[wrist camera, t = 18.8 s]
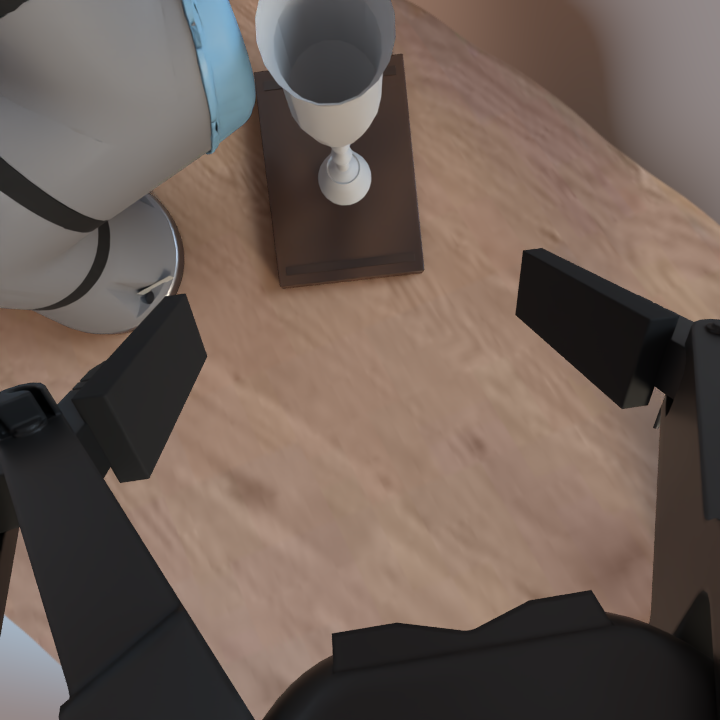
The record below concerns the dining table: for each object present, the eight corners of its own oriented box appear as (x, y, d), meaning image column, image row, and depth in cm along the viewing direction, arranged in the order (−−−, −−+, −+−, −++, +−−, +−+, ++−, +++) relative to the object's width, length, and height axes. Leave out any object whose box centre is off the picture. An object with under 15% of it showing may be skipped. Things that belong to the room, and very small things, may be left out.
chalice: (301, 145, 37) (241, -37, 19) (372, 131, 36) (380, -68, 18) (317, 223, 37) (272, 118, 19) (387, 209, 37) (408, 90, 19)
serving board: (283, 288, 39) (279, 286, 37) (258, 82, 38) (253, 71, 36) (422, 272, 39) (424, 270, 37) (401, 64, 37) (402, 52, 36)
